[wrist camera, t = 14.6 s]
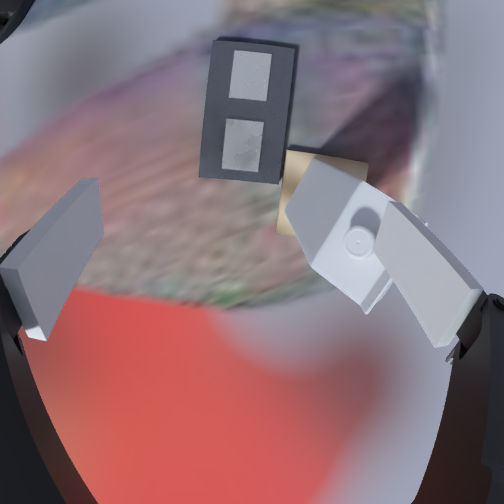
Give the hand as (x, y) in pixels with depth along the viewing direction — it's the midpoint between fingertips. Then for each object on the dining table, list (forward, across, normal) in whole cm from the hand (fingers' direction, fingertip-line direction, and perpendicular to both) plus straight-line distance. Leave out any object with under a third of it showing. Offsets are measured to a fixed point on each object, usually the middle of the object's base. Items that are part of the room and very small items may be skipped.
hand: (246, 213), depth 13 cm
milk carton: (+20, +11, -7) cm, 24 cm away
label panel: (+23, +1, +2) cm, 23 cm away
